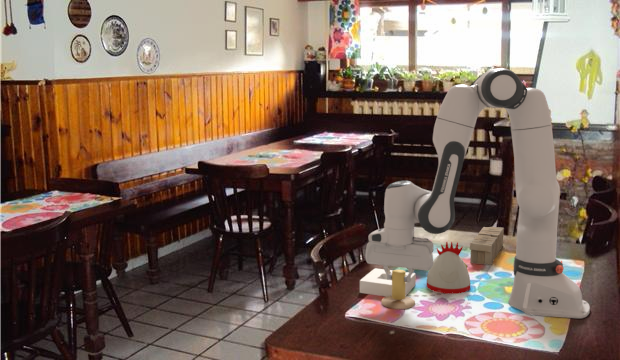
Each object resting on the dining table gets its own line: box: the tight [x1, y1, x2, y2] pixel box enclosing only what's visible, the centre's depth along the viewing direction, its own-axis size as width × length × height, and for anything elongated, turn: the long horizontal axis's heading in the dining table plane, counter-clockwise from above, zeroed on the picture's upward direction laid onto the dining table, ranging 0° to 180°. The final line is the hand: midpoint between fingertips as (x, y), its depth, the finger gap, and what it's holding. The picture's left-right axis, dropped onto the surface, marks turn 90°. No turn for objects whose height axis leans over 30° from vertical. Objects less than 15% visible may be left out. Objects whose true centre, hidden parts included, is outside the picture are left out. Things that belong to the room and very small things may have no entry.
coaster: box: [381, 295, 416, 310], centre depth 196 cm, size 10×10×1 cm
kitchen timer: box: [426, 241, 471, 295], centre depth 209 cm, size 14×14×15 cm
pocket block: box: [359, 267, 417, 297], centre depth 208 cm, size 14×14×4 cm
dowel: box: [392, 269, 406, 300], centre depth 195 cm, size 4×4×8 cm
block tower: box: [469, 226, 505, 265], centre depth 245 cm, size 8×8×29 cm
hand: (398, 280), depth 195 cm, fingers closed on dowel, 4 cm apart
